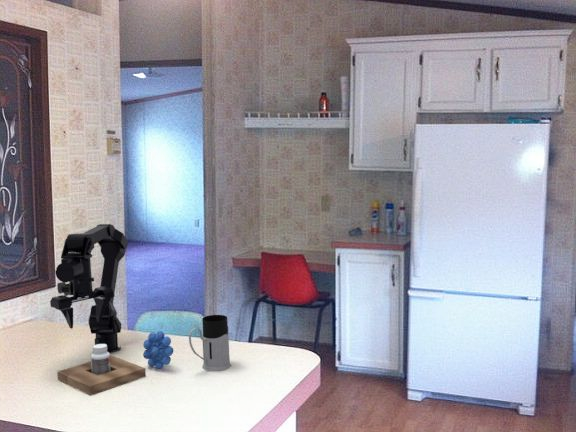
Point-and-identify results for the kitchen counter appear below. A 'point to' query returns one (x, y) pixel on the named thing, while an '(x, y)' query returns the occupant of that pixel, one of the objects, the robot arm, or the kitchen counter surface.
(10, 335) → the kitchen counter surface
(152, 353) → the grapes
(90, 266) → the robot arm
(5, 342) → the kitchen counter surface
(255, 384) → the kitchen counter surface
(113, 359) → the hole plate
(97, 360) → the pill bottle
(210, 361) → the glass holder
